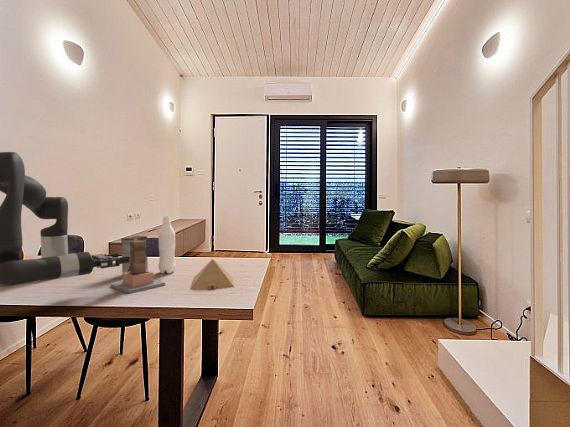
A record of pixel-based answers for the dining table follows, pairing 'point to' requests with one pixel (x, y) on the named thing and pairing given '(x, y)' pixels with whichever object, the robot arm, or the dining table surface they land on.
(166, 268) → the water bottle
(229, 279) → the model pyramid
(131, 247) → the walnut slat
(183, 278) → the dining table surface
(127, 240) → the coffee box
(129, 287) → the end cap socket
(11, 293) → the dining table surface
